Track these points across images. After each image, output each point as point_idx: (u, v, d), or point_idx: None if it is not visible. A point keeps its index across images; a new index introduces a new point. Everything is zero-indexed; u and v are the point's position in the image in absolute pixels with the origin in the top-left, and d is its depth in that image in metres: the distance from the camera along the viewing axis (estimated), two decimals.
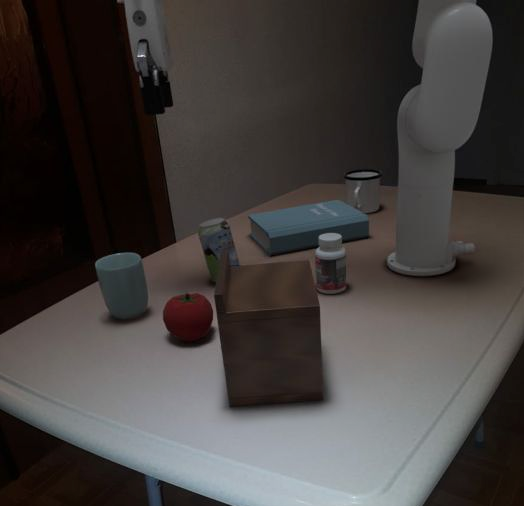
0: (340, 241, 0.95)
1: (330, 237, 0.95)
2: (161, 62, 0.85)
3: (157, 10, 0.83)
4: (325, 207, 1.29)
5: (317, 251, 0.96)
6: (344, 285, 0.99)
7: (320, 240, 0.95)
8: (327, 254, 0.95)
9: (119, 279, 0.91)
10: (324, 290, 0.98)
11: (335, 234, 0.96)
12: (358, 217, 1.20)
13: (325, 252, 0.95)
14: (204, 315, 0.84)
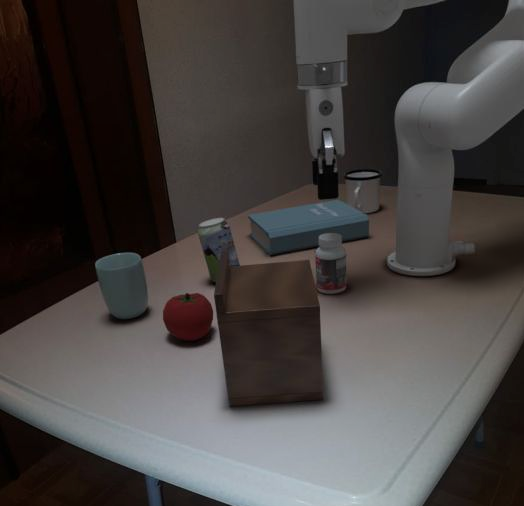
0: (340, 241, 0.95)
1: (330, 237, 0.95)
2: (342, 149, 0.84)
3: None
4: (325, 207, 1.29)
5: (317, 251, 0.96)
6: (344, 285, 0.99)
7: (320, 240, 0.95)
8: (327, 254, 0.95)
9: (119, 279, 0.91)
10: (324, 290, 0.98)
11: (335, 234, 0.96)
12: (358, 217, 1.20)
13: (325, 252, 0.95)
14: (204, 315, 0.84)
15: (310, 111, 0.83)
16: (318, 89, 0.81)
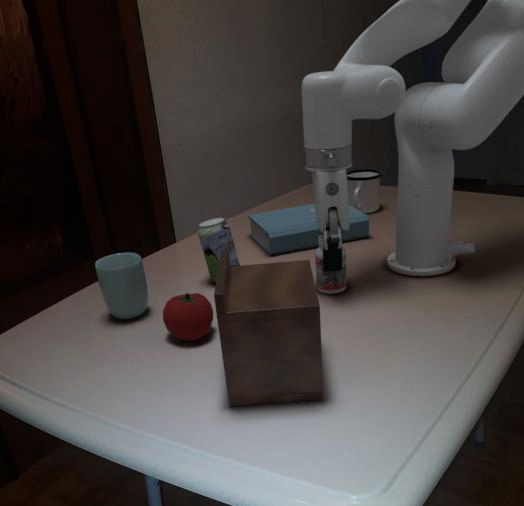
0: None
1: None
2: (347, 225, 0.90)
3: None
4: None
5: (317, 251, 0.96)
6: (344, 285, 0.99)
7: (320, 240, 0.95)
8: None
9: (119, 279, 0.91)
10: (324, 290, 0.98)
11: None
12: (358, 216, 1.20)
13: None
14: (204, 315, 0.84)
15: (317, 191, 0.88)
16: (325, 172, 0.86)
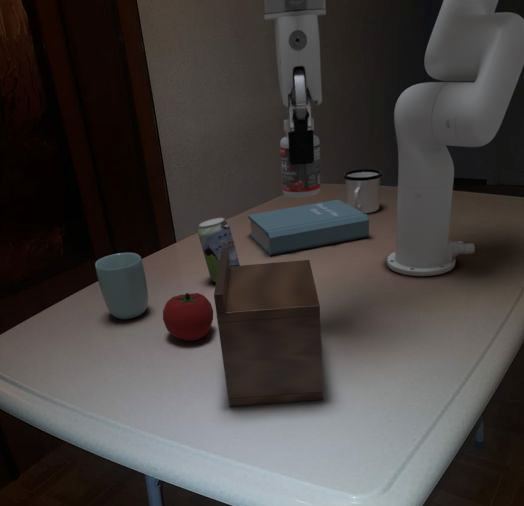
0: None
1: None
2: (318, 95, 0.68)
3: (318, 30, 0.66)
4: (325, 207, 1.29)
5: (282, 139, 0.74)
6: (318, 187, 0.77)
7: (285, 123, 0.73)
8: None
9: (119, 279, 0.91)
10: (291, 192, 0.76)
11: None
12: (358, 216, 1.20)
13: None
14: (204, 315, 0.84)
15: (279, 46, 0.66)
16: (288, 16, 0.65)
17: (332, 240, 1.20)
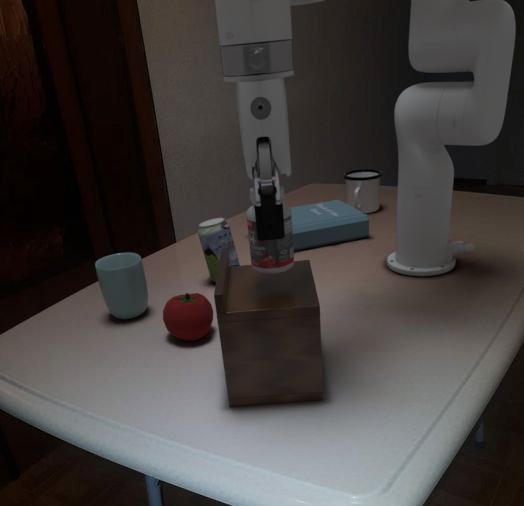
0: (281, 195, 0.64)
1: None
2: (286, 167, 0.59)
3: (285, 95, 0.57)
4: (325, 207, 1.29)
5: (249, 210, 0.66)
6: (290, 261, 0.68)
7: (251, 193, 0.64)
8: None
9: (119, 279, 0.91)
10: (261, 268, 0.67)
11: None
12: (358, 216, 1.20)
13: None
14: (204, 315, 0.84)
15: (240, 113, 0.57)
16: (249, 81, 0.56)
17: (332, 240, 1.20)
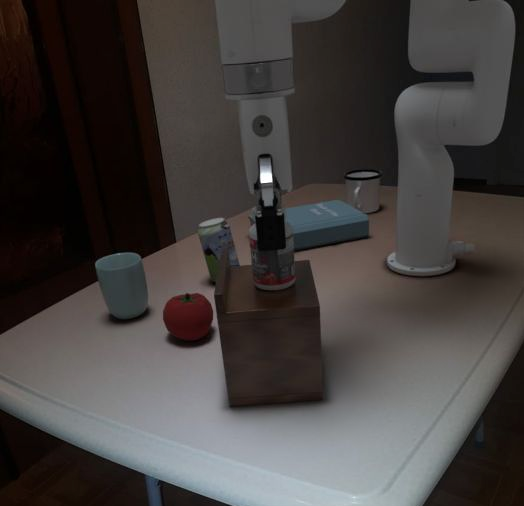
0: None
1: None
2: (288, 183, 0.60)
3: (286, 113, 0.58)
4: (325, 207, 1.29)
5: (251, 229, 0.67)
6: (292, 278, 0.69)
7: (254, 212, 0.65)
8: None
9: (119, 279, 0.91)
10: (262, 285, 0.69)
11: None
12: (358, 216, 1.20)
13: None
14: (204, 315, 0.84)
15: (241, 130, 0.58)
16: (251, 99, 0.57)
17: (332, 240, 1.20)
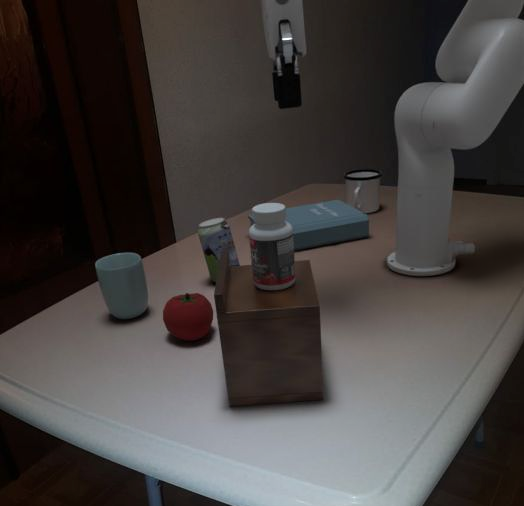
0: (283, 214, 0.65)
1: (268, 209, 0.65)
2: (303, 46, 0.73)
3: None
4: (325, 207, 1.29)
5: (251, 229, 0.67)
6: (292, 278, 0.69)
7: (254, 212, 0.65)
8: (263, 232, 0.65)
9: (119, 279, 0.91)
10: (262, 285, 0.69)
11: (277, 204, 0.67)
12: (358, 216, 1.20)
13: (260, 230, 0.66)
14: (204, 315, 0.84)
15: (264, 1, 0.72)
16: None
17: (332, 240, 1.20)
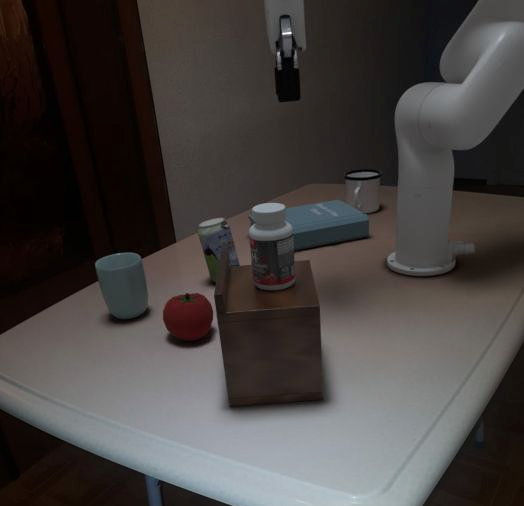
0: (283, 214, 0.65)
1: (268, 209, 0.65)
2: (302, 41, 0.75)
3: None
4: (325, 207, 1.29)
5: (251, 229, 0.67)
6: (292, 278, 0.69)
7: (254, 212, 0.65)
8: (263, 232, 0.65)
9: (119, 279, 0.91)
10: (262, 285, 0.69)
11: (277, 204, 0.67)
12: (358, 216, 1.20)
13: (260, 230, 0.66)
14: (204, 315, 0.84)
15: None
16: None
17: (332, 240, 1.20)
